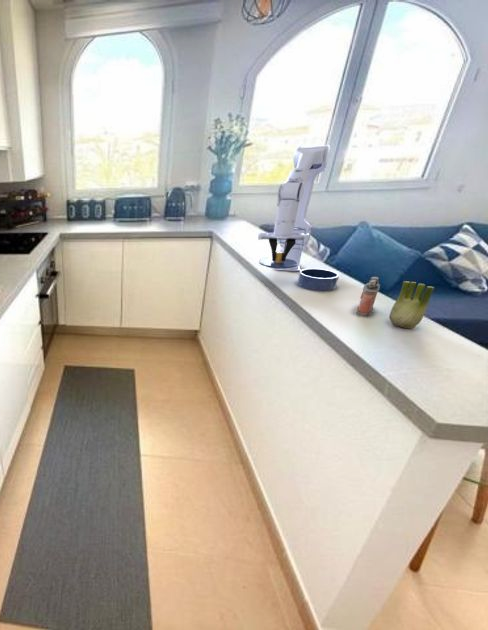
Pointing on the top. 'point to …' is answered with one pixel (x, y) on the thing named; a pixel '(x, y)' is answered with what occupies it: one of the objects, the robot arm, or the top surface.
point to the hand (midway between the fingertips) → (278, 260)
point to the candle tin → (318, 279)
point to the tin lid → (278, 262)
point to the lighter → (368, 297)
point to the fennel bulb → (410, 305)
